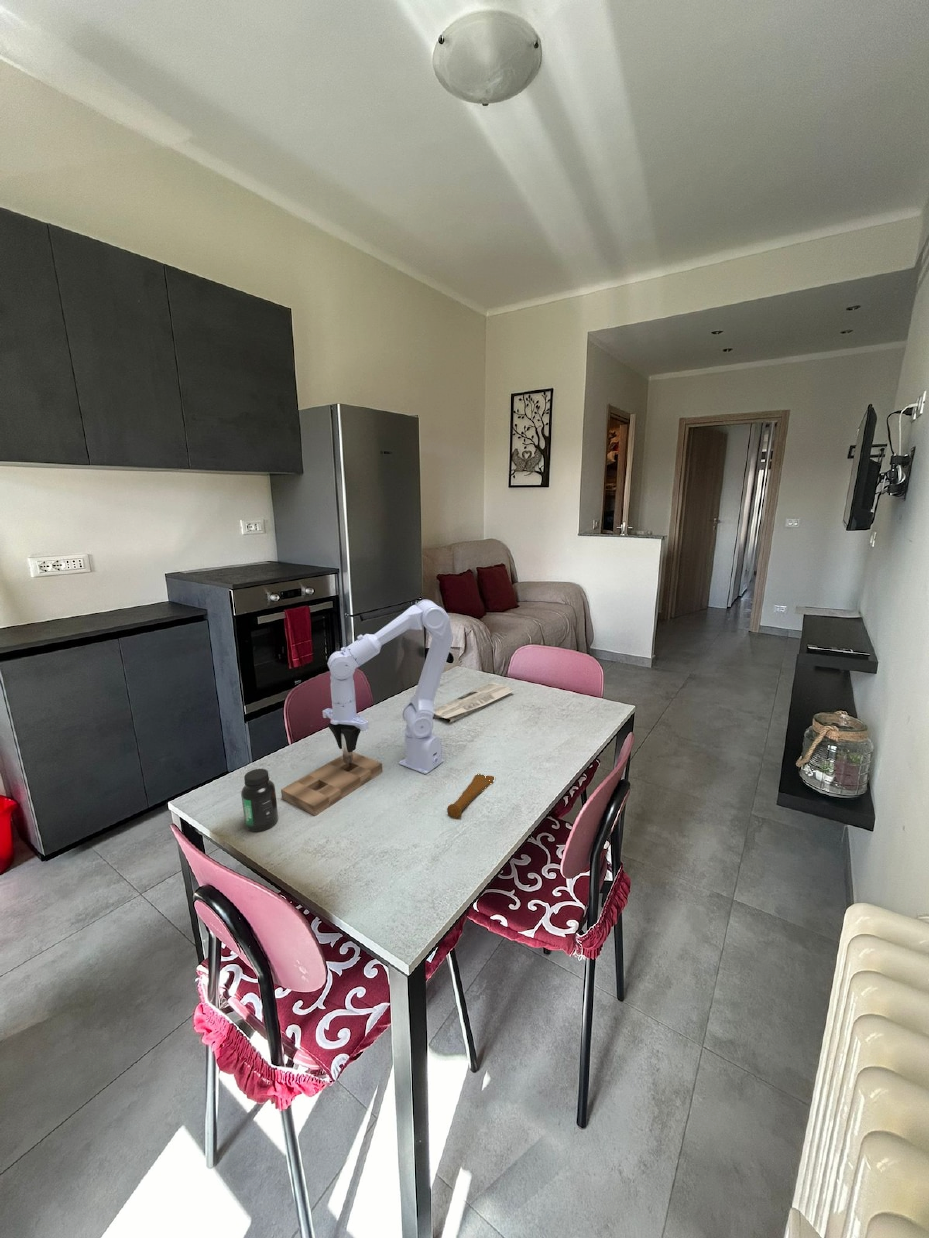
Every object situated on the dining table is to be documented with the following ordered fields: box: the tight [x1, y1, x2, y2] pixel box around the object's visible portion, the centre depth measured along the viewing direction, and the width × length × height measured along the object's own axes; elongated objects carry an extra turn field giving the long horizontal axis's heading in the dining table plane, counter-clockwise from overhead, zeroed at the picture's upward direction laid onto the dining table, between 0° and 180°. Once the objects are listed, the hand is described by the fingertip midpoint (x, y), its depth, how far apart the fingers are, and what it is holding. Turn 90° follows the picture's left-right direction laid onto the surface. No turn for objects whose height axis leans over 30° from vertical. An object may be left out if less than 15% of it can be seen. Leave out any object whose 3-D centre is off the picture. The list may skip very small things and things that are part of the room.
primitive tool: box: [446, 773, 495, 819], centre depth 118 cm, size 19×6×4 cm, turn 157°
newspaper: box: [433, 682, 514, 724], centre depth 170 cm, size 35×12×4 cm, turn 140°
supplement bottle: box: [240, 768, 279, 833], centre depth 108 cm, size 7×7×12 cm
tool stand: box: [280, 751, 384, 817], centre depth 123 cm, size 12×22×2 cm, turn 146°
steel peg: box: [341, 731, 354, 763], centre depth 125 cm, size 3×3×8 cm
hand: (347, 749), depth 126 cm, fingers closed on steel peg, 3 cm apart
